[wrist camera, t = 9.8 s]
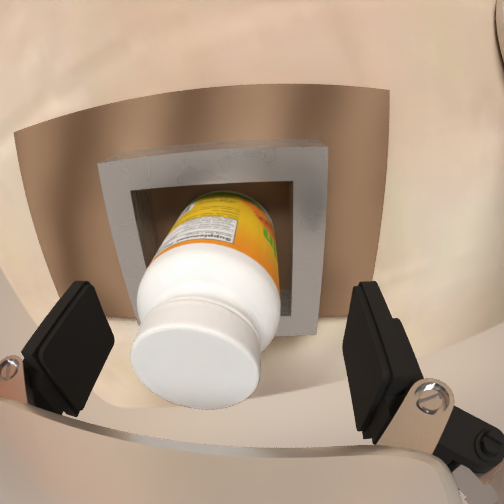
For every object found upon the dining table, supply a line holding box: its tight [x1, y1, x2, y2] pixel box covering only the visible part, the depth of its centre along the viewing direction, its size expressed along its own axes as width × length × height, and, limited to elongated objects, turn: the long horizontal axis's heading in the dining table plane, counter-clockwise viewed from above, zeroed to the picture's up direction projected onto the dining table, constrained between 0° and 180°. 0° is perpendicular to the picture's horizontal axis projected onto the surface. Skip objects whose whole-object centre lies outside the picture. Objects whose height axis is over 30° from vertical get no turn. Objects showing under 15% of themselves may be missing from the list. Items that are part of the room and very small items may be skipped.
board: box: [14, 84, 389, 318], centre depth 17 cm, size 22×14×1 cm, turn 93°
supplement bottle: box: [130, 190, 281, 410], centre depth 13 cm, size 5×5×10 cm
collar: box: [98, 139, 328, 336], centre depth 16 cm, size 10×10×2 cm
